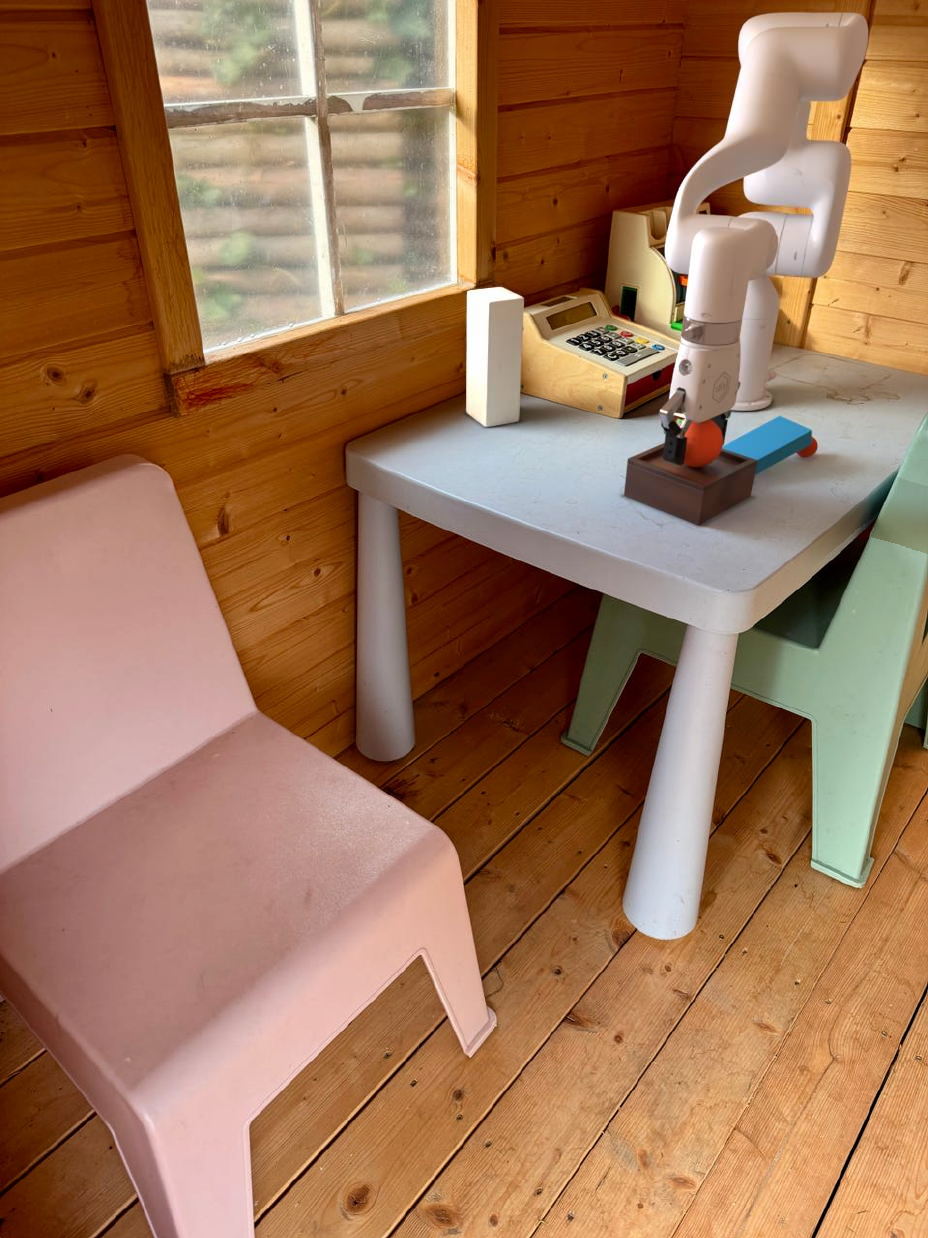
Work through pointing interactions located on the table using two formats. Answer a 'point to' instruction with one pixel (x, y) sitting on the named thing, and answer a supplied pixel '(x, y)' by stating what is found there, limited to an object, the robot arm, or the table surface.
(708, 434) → the clementine
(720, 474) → the tray
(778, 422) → the lever
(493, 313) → the tall white pillar block
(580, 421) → the table surface
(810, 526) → the table surface
